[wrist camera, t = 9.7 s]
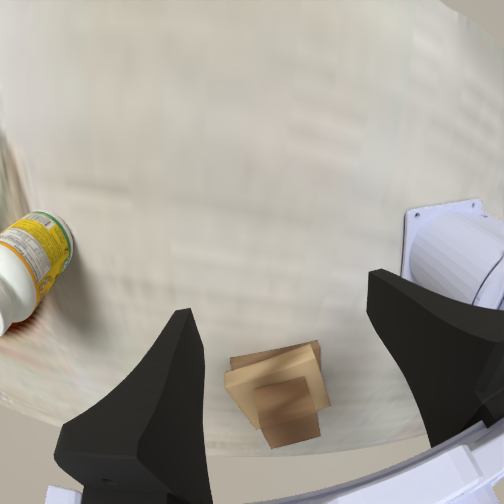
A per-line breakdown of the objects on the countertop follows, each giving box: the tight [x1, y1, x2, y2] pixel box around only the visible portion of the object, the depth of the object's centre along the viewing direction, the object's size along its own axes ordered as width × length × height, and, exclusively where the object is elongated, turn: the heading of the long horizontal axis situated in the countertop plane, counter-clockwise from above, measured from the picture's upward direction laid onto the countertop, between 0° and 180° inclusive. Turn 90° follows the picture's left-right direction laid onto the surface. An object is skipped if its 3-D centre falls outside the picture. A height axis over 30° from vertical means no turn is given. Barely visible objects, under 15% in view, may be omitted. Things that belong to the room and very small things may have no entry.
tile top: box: [224, 344, 331, 430], centre depth 26 cm, size 8×8×2 cm
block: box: [254, 376, 321, 449], centre depth 23 cm, size 4×4×4 cm
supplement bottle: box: [0, 210, 73, 337], centre depth 15 cm, size 5×5×10 cm
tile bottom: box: [230, 340, 321, 373], centre depth 28 cm, size 8×8×2 cm
